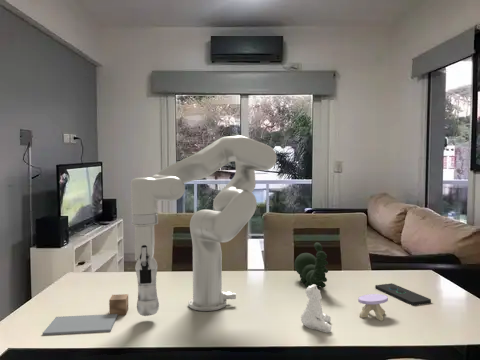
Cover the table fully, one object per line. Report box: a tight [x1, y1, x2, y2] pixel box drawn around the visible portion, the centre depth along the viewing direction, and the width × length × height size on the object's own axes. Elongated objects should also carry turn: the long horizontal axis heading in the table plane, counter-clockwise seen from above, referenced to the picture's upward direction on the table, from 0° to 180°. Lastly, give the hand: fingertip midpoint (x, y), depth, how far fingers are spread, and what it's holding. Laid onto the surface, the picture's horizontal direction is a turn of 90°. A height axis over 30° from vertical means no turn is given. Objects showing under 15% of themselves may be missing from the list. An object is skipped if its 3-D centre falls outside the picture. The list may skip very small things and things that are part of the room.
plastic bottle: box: [134, 255, 160, 317], centre depth 121 cm, size 6×7×20 cm
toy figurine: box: [294, 242, 329, 289], centre depth 159 cm, size 9×19×25 cm
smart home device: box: [374, 283, 432, 306], centre depth 146 cm, size 8×2×20 cm
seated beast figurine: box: [300, 284, 332, 334], centre depth 118 cm, size 10×9×12 cm
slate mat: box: [42, 313, 119, 336], centre depth 119 cm, size 18×12×1 cm, turn 98°
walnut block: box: [108, 293, 129, 316], centre depth 129 cm, size 5×5×5 cm
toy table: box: [357, 293, 389, 322], centre depth 126 cm, size 10×9×6 cm
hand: (147, 279), depth 121 cm, fingers closed on plastic bottle, 6 cm apart
